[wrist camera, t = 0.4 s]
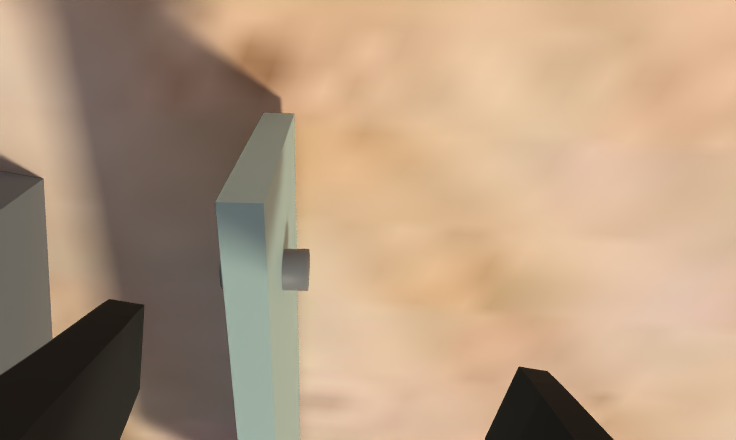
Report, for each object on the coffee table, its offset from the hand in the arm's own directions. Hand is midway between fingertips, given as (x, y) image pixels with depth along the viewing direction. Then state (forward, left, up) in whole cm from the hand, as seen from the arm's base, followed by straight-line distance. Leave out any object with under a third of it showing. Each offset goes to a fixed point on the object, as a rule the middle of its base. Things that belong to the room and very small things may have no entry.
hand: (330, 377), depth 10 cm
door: (-7, +1, -9) cm, 12 cm away
